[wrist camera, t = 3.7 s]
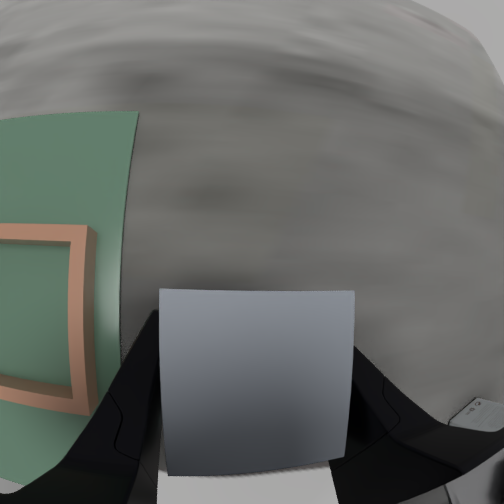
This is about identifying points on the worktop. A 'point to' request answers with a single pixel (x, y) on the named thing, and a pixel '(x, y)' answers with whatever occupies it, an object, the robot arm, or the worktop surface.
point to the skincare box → (480, 416)
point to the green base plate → (59, 279)
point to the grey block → (254, 378)
